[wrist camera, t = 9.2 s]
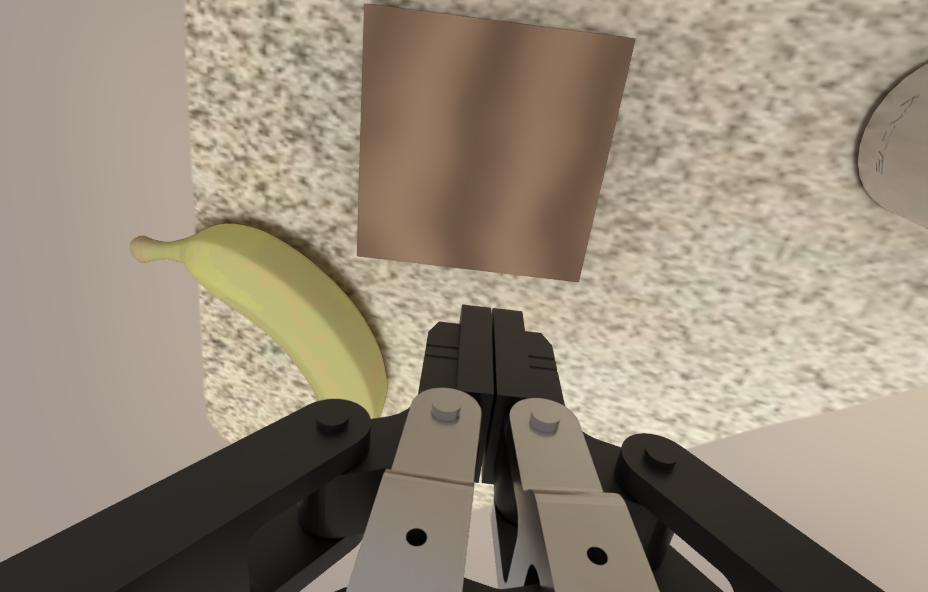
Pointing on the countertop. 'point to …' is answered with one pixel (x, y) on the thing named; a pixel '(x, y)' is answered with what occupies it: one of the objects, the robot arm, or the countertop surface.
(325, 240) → the countertop surface
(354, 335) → the banana
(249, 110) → the countertop surface
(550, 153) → the walnut board
